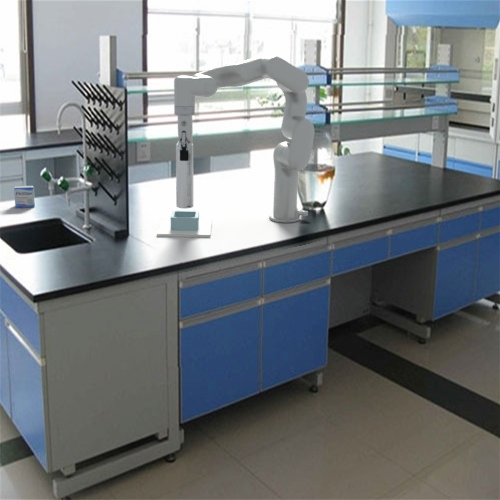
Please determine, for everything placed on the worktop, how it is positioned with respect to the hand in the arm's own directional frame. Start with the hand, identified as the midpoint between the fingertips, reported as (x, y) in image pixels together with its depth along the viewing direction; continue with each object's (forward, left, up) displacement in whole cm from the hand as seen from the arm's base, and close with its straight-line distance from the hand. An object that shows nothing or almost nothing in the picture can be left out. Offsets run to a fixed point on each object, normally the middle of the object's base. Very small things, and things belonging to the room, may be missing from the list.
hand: (184, 158), depth 271 cm
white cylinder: (0, 0, -19) cm, 19 cm away
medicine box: (+69, -30, -28) cm, 80 cm away
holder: (0, 0, -28) cm, 28 cm away
